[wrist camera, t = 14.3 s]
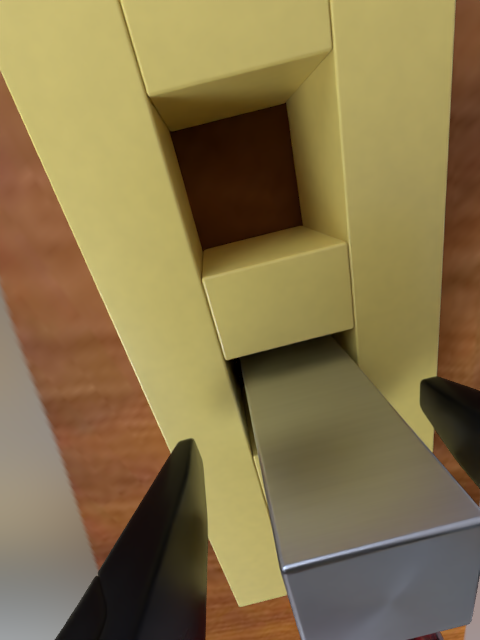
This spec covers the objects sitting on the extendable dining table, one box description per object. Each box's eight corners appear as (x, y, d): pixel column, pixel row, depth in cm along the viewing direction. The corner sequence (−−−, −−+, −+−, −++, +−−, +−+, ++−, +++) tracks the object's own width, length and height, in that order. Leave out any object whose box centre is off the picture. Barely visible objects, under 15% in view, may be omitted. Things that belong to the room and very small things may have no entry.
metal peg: (302, 300, 12) (493, 520, 4) (311, 361, 14) (473, 625, 5) (231, 318, 12) (280, 573, 4) (247, 377, 14) (308, 667, 5)
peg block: (356, -21, 9) (467, -178, 5) (381, 481, 17) (428, 560, 14) (57, 53, 9) (-55, -48, 5) (232, 519, 17) (238, 608, 14)
